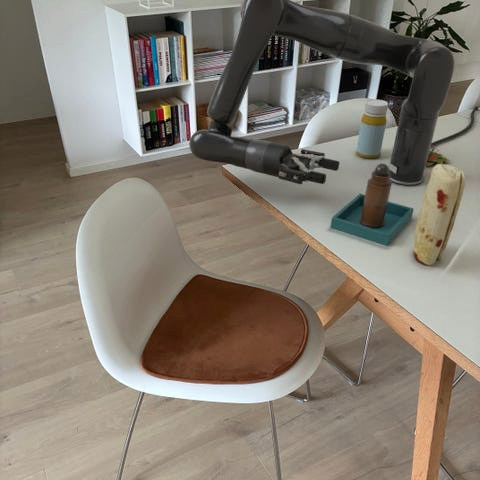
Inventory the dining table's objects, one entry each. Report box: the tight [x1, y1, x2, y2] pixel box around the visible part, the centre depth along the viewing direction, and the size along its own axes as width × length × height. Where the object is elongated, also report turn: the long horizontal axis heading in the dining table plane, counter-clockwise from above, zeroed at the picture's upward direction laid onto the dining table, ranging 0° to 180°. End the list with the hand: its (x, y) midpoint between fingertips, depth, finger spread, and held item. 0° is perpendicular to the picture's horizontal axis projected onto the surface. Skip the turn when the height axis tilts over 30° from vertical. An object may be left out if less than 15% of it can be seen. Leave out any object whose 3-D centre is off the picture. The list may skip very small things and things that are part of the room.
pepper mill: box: [360, 163, 393, 229], centre depth 117 cm, size 6×6×14 cm
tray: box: [330, 193, 415, 247], centre depth 121 cm, size 16×14×3 cm
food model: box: [412, 163, 466, 267], centre depth 104 cm, size 10×7×20 cm
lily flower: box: [426, 145, 452, 167], centre depth 152 cm, size 12×12×5 cm
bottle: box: [355, 98, 389, 160], centre depth 151 cm, size 7×7×15 cm
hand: (332, 172), depth 119 cm, fingers open, 8 cm apart
